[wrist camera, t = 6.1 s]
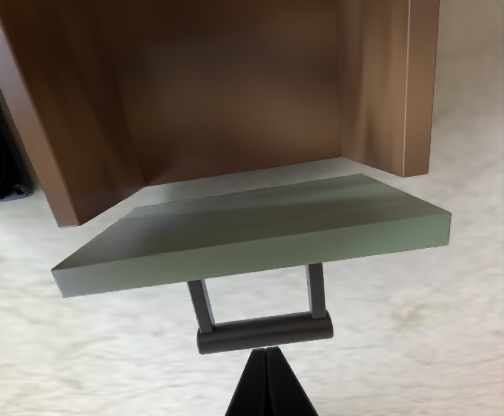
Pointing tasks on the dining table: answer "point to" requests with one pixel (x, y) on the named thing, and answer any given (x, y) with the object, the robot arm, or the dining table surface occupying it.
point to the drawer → (225, 138)
